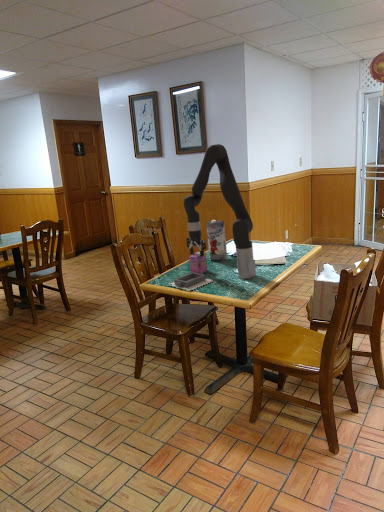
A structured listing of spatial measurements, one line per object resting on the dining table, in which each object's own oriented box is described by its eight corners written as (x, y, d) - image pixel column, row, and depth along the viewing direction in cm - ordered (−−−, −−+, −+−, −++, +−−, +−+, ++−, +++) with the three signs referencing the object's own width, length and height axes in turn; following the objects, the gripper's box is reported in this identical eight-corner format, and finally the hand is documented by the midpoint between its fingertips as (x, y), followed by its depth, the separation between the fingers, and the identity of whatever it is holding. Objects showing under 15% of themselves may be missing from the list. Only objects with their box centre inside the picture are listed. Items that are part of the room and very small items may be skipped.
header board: (213, 281, 222) (212, 274, 221) (189, 292, 210) (189, 284, 209) (191, 276, 235) (190, 270, 233) (168, 286, 223) (167, 279, 222)
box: (198, 275, 235) (196, 256, 232) (190, 275, 238) (188, 256, 235) (207, 270, 243) (205, 251, 240) (200, 269, 246) (198, 251, 243)
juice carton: (214, 257, 269) (210, 218, 262) (228, 257, 264) (224, 218, 257) (208, 261, 262) (204, 221, 254) (223, 261, 257) (219, 221, 250)
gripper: (207, 228, 231) (210, 255, 235) (190, 226, 241) (193, 252, 245) (198, 231, 226) (201, 258, 230) (181, 229, 236) (184, 255, 240)
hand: (197, 255), depth 238 cm, fingers open, 8 cm apart
